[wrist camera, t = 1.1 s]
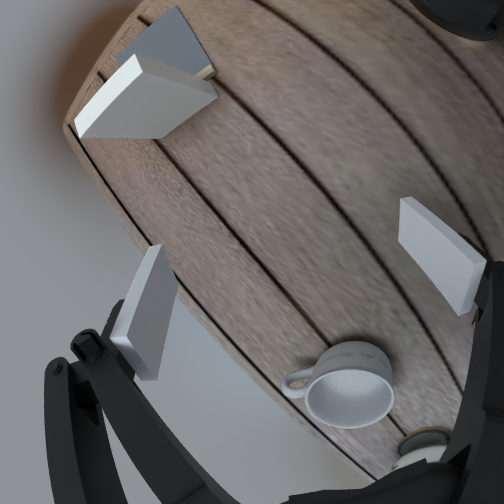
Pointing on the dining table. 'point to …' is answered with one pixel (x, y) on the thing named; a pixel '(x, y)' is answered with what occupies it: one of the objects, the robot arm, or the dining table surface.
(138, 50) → the mat
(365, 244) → the dining table surface
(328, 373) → the teacup
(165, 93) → the tile
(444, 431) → the apothecary jar
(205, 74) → the oak strip
